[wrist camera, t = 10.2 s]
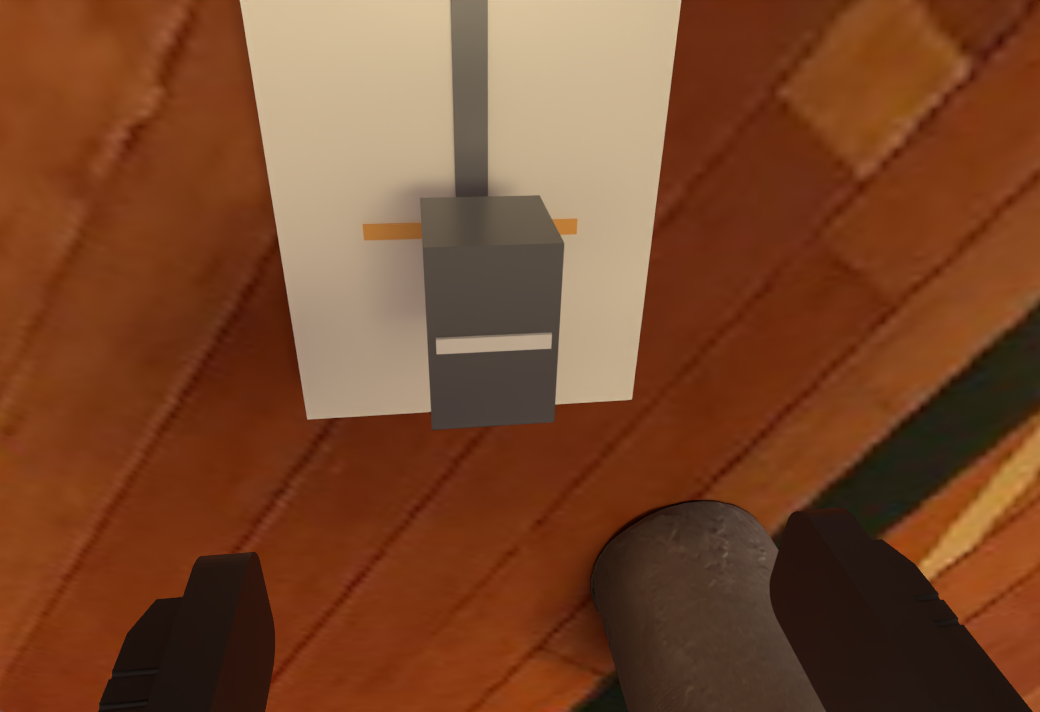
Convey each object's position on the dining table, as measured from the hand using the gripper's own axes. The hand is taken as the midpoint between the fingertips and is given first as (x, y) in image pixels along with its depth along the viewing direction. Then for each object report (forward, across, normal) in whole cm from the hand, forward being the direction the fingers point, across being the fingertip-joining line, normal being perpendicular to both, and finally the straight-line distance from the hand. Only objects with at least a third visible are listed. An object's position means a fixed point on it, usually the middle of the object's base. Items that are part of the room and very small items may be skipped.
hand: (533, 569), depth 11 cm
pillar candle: (+17, -11, +20) cm, 28 cm away
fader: (+14, 0, 0) cm, 14 cm away
